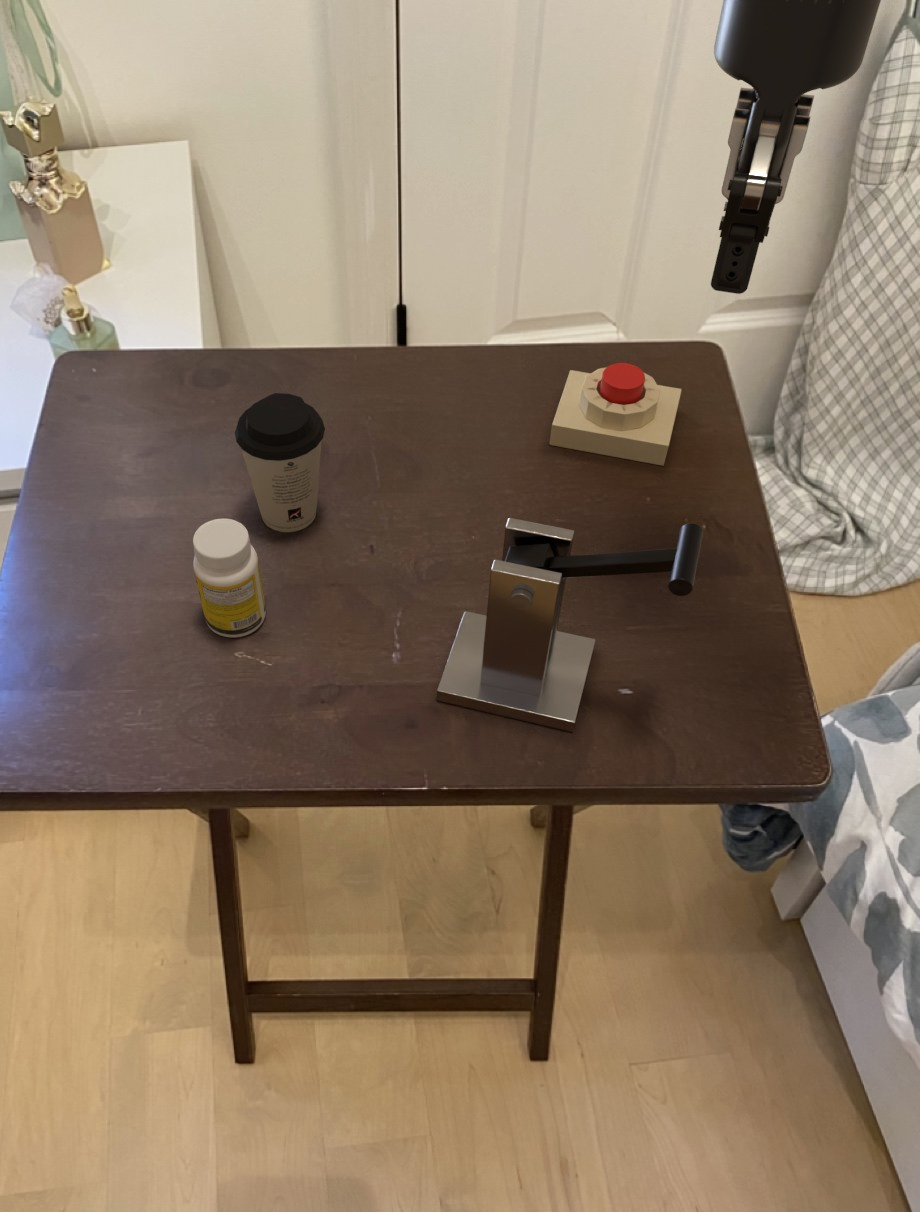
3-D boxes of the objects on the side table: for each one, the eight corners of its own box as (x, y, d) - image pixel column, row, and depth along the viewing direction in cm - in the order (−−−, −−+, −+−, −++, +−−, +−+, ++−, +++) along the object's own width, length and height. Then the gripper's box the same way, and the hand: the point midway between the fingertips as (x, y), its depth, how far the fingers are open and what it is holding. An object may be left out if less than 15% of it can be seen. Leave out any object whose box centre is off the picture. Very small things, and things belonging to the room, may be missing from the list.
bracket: (593, 649, 81) (621, 523, 71) (572, 732, 77) (599, 610, 66) (464, 621, 83) (473, 494, 73) (436, 700, 78) (441, 577, 68)
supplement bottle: (220, 587, 85) (204, 507, 79) (275, 601, 84) (264, 521, 78) (195, 631, 83) (176, 552, 76) (252, 646, 82) (238, 567, 75)
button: (644, 383, 94) (648, 366, 93) (638, 409, 92) (641, 391, 91) (603, 376, 95) (606, 359, 93) (596, 401, 93) (599, 384, 91)
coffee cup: (316, 549, 88) (308, 451, 80) (235, 534, 89) (219, 436, 81) (340, 492, 92) (335, 393, 84) (262, 478, 93) (249, 380, 85)
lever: (706, 545, 68) (700, 515, 67) (695, 601, 65) (689, 572, 64) (523, 558, 74) (514, 531, 72) (506, 610, 71) (496, 584, 69)
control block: (676, 409, 98) (686, 371, 94) (663, 466, 93) (673, 428, 90) (567, 390, 99) (572, 352, 96) (549, 445, 95) (554, 407, 92)
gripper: (885, 21, 49) (781, 357, 62) (895, -81, 56) (800, 239, 70) (715, 5, 50) (650, 336, 64) (747, -93, 58) (683, 223, 71)
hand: (728, 285), depth 67 cm, fingers closed
